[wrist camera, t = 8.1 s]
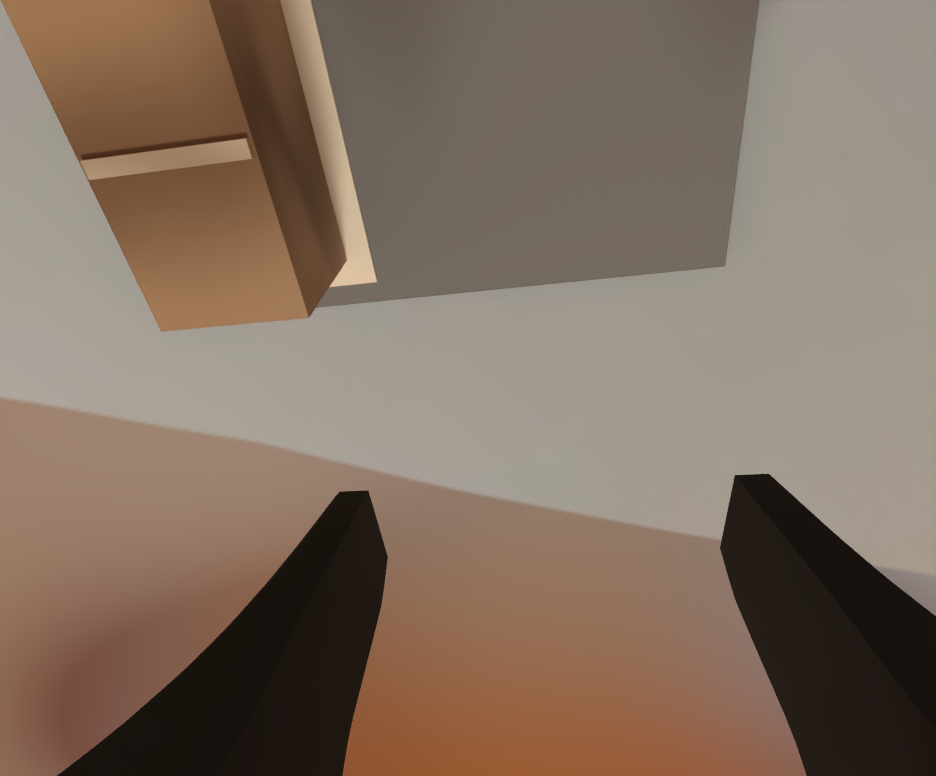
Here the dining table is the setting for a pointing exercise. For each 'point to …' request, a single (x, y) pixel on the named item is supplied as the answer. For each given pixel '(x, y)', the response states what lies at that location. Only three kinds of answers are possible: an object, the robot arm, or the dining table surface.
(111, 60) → the brown rectangular block
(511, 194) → the mat
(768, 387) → the dining table surface
